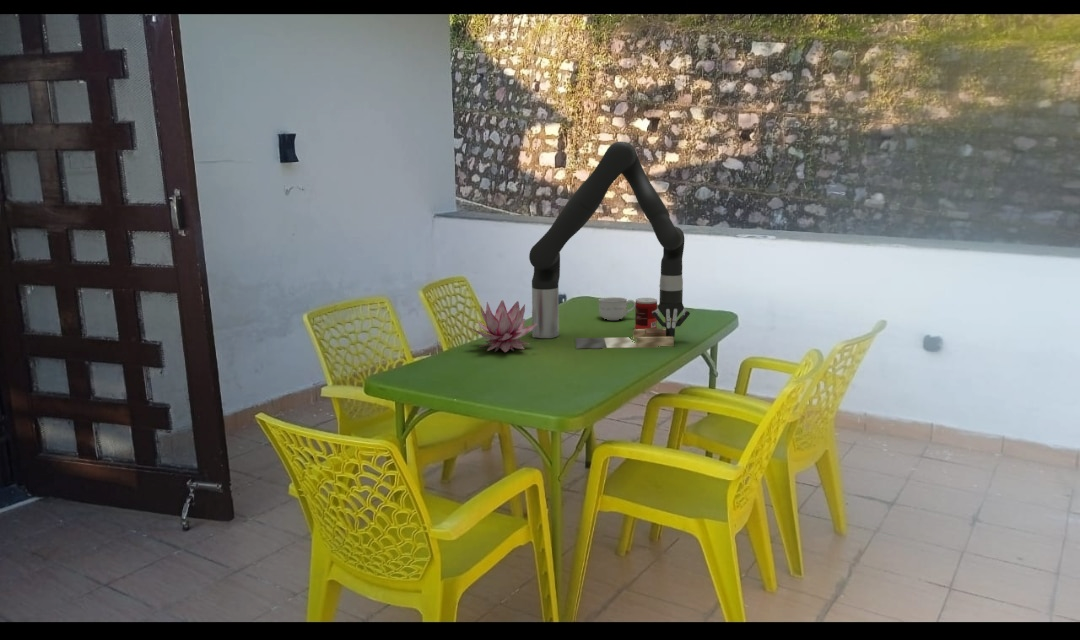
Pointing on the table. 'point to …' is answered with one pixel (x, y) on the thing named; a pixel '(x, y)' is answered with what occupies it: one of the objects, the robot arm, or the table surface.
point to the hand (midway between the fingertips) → (670, 338)
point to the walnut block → (654, 332)
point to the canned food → (645, 313)
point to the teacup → (614, 307)
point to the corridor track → (624, 341)
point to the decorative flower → (504, 327)
